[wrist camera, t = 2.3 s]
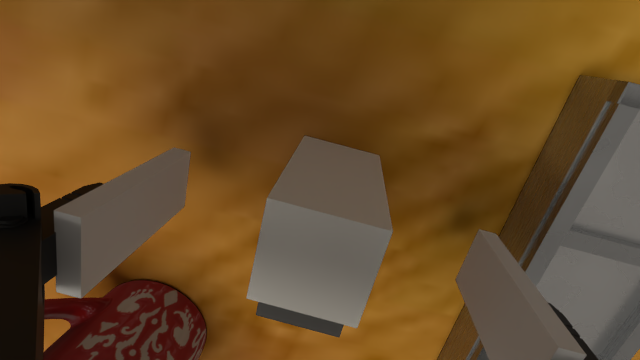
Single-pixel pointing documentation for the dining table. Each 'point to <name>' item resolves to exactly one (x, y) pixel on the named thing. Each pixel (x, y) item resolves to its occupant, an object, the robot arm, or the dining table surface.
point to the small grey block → (321, 238)
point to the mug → (128, 325)
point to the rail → (581, 223)
